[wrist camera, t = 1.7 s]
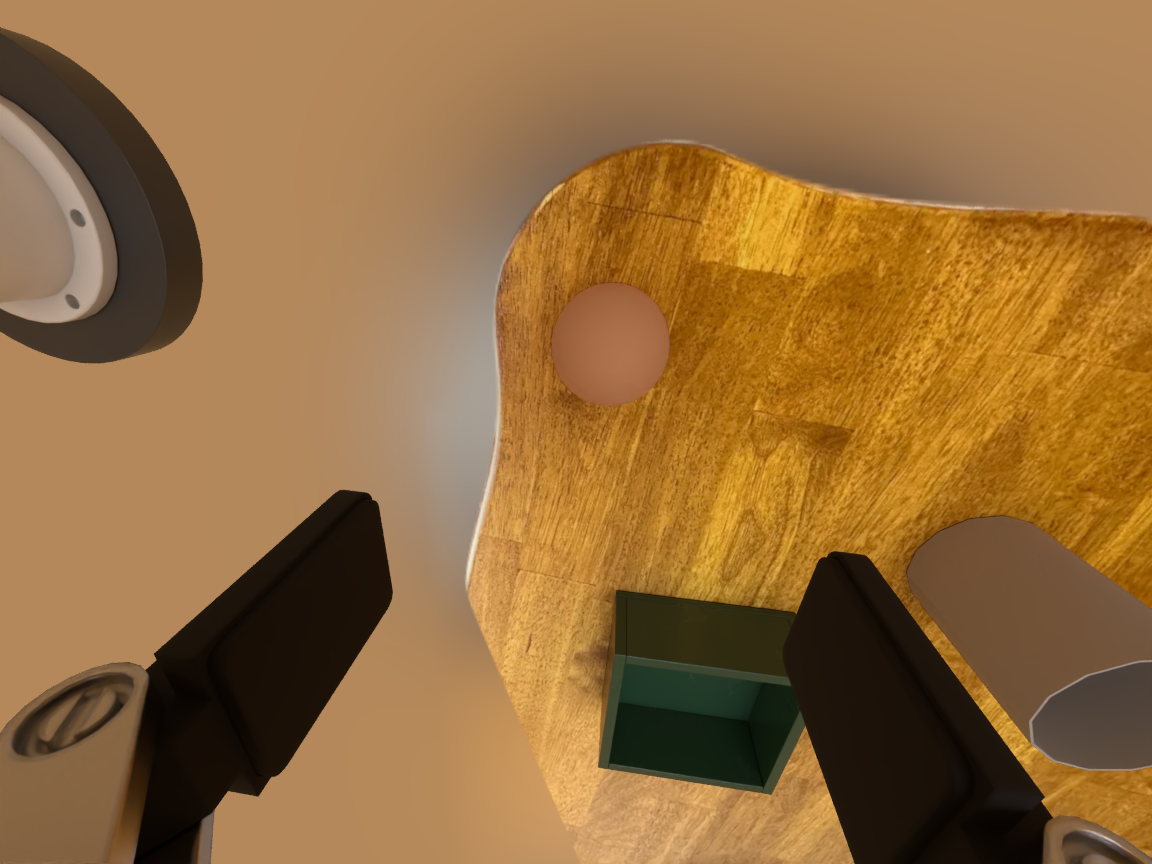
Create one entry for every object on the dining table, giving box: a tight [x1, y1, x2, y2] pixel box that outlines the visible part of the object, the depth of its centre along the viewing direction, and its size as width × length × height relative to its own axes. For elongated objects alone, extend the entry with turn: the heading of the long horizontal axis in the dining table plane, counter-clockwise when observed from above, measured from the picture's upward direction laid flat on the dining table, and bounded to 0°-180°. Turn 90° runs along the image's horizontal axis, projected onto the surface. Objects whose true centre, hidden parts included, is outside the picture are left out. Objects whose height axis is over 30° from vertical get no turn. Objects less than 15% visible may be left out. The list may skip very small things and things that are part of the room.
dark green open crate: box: [598, 591, 805, 795], centre depth 33 cm, size 14×14×6 cm
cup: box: [907, 516, 1152, 770], centre depth 24 cm, size 8×8×10 cm
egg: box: [552, 282, 670, 406], centre depth 21 cm, size 6×6×8 cm
